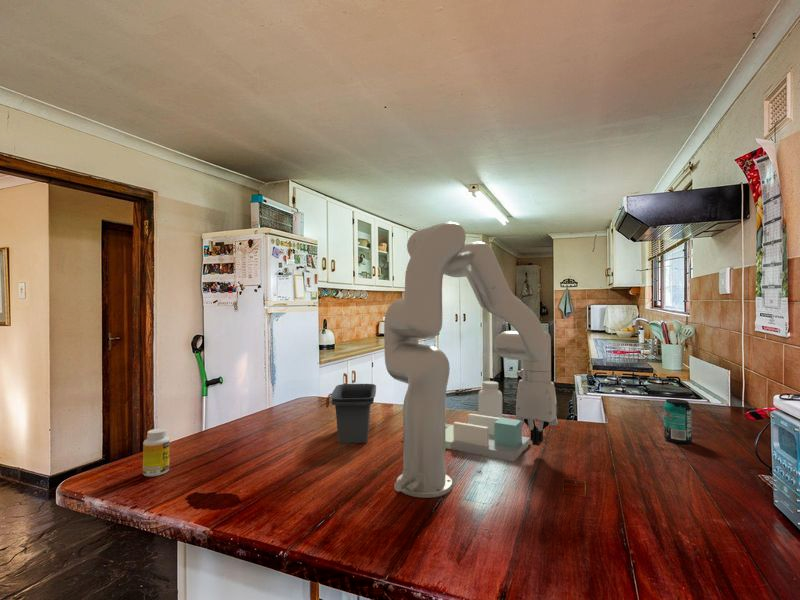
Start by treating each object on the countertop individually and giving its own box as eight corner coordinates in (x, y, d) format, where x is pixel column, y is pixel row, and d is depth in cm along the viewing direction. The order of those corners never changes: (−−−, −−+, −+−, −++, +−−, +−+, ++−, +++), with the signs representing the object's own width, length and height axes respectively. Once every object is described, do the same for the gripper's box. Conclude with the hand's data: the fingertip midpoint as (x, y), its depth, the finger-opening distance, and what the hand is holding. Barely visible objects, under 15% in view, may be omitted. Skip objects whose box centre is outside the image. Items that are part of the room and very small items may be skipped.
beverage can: (683, 437, 126) (682, 398, 127) (697, 445, 119) (696, 403, 120) (659, 436, 127) (658, 398, 127) (671, 444, 120) (671, 403, 120)
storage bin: (375, 446, 118) (375, 397, 119) (321, 447, 118) (321, 397, 118) (376, 425, 140) (376, 383, 140) (330, 426, 139) (330, 383, 139)
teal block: (515, 447, 111) (515, 425, 111) (494, 444, 114) (494, 422, 114) (521, 441, 116) (521, 420, 116) (501, 438, 119) (501, 417, 120)
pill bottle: (504, 430, 134) (504, 384, 134) (480, 430, 134) (480, 384, 134) (499, 423, 142) (499, 380, 142) (476, 423, 142) (476, 380, 142)
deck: (514, 461, 106) (514, 434, 106) (402, 439, 124) (402, 416, 124) (530, 444, 120) (529, 420, 120) (427, 426, 138) (427, 405, 138)
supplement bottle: (165, 476, 97) (165, 433, 98) (139, 478, 96) (139, 434, 96) (172, 467, 103) (172, 426, 103) (147, 469, 101) (147, 428, 102)
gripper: (505, 375, 112) (505, 443, 112) (562, 381, 104) (563, 453, 104) (513, 372, 119) (513, 435, 118) (568, 376, 111) (568, 445, 110)
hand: (536, 443), depth 111 cm, fingers closed
